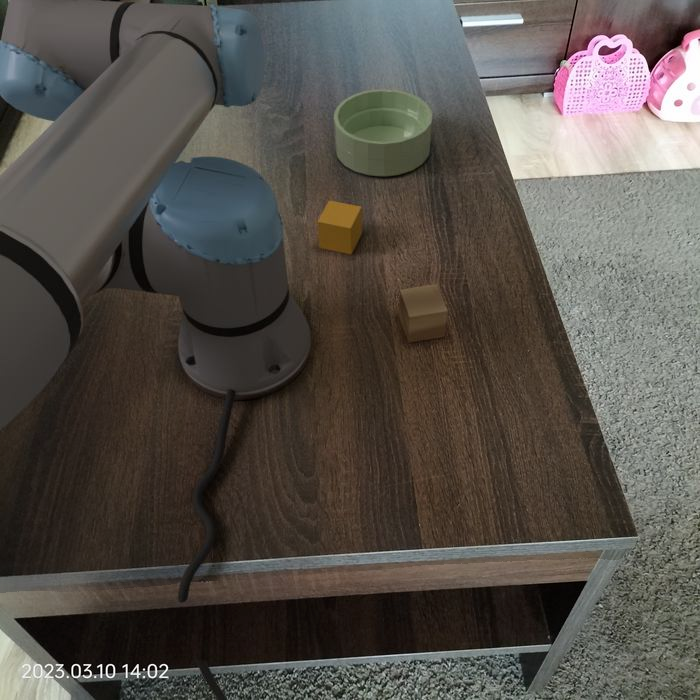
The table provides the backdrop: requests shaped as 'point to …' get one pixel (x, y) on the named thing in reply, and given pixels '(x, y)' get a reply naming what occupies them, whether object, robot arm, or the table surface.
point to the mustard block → (340, 227)
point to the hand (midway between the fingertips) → (190, 93)
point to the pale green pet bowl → (382, 132)
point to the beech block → (422, 313)
